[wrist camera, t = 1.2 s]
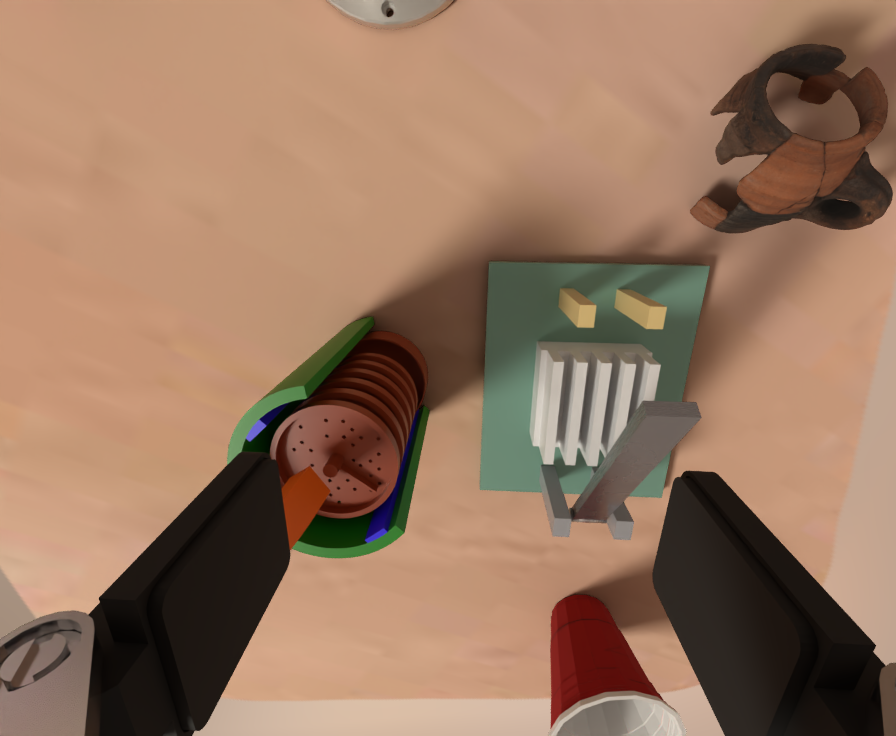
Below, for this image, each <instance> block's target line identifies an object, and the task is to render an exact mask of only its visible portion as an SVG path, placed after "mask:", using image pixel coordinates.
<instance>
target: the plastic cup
mask: <svg viewBox="0 0 896 736" xmlns="http://www.w3.org/2000/svg"><path fill="white" fill-rule="evenodd" d="M550 653H551V729H550V731H549V734H548V736H686V729H685V727H684V725H683V722H682V720H681V718H680V716H679V714H678V713H677V711H676V710H675V709H674V708H672V707H671V706H669V705H668V704H667V703H666V702H665V701H663V699H662V697H661V696H660V694H659V693H657V691H656V690H655V688H654V686H653V685H652V683H651V682H649V680H648V678H647V677H646V675H645V673H644V671H643V669H642V668H641V666H640V664H639V662H638V661H637V659H636V657H635V655H634V654H633V652H632V650H631V648H630V647H629V645H628V643H627V641H626V640H625V638H624V636H623V634H622V633H621V631H620V630H619V629H618V627H617V626H616V624H615V622H614V620H613V618H612V616H611V614H610V612H609V610H608V609H607V608H606V607H605V605H604V604H603V603H602V602H601V601H599V600H598V599H597V598H595V597H591V596H588V595H573V596H569V597H566V598H564V599H563V600H561V601H560V602H558V603H557V604H556V606H555V607H554V609H553V611H552V616H551V649H550Z"/></svg>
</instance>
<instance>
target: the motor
mask: <svg viewBox="0 0 896 736" xmlns="http://www.w3.org/2000/svg"><path fill="white" fill-rule="evenodd" d="M373 325H374V319H373V317H367V318H363V319H360V320H357V321H355V322H353V323H351V324H349V325H348V326H346V327H345V328H343V329H342V330H341V331H340V332H339V333H338V334H336V335H335V336H334V337H333V338H332V339H331V340H329V341H328V342H327V343H326V344H325V345H324V346H322V347H321V348H320V349H319V350H318V351H317V352H316V353H314V354H313V355H312V356H311V357H310V358H309V359H307V360H306V361H305V362H304V363H303V364H302V365H300V366H299V367H298V368H297V369H296V370H295V371H293V372H292V373H291V374H290V375H289V376H288V377H286V378H285V379H284V380H283V381H282V382H281V383H279V384H278V385H277V386H276V387H275V388H274V389H273V390H271V391H270V392H269V393H268V394H267V395H266V396H264V397H263V398H262V399H261V400H260V401H259V402H257V403H256V404H255V405H254V406H253V407H252V408H251V409H249V410H248V412H247V413H246V414H245V415H244V416H243V417H242V419H241V420H240V421H239V423H238V424H237V426H236V428H235V430H234V432H233V434H232V437H231V440H230V444H229V448H228V457H227V465H228V464H229V463H230V462H231V461H232V460H233V459H234V458H235V457H236V456H237V455H238V454H239V453H240V452H263V453H268V454H269V455H270V457H271V459H275V460H276V461H277V463H278V468H279V475H280V482H281V489H282V496H283V504H284V511H285V518H286V525H287V532H288V539H289V546H290V550H291V549H294V550H297V551H299V552H302V553H306V554H309V555H313V556H318V557H325V558H351V557H358V556H362V555H366V554H370V553H372V552H375V551H378V550H380V549H382V548H384V547H386V546H388V545H389V544H391V543H392V542H394V541H395V540H397V539H398V538H399V537H400V536H401V535H402V534H404V533H405V528H406V523H407V518H408V513H409V508H410V503H411V499H412V494H413V489H414V484H415V479H416V474H417V469H418V465H419V460H420V455H421V450H422V445H423V440H424V436H425V431H426V426H427V421H428V416H429V411H430V410H429V409H428V408H427V407H425V406H423V407H422V408H421V409H420V410H419V407H420V406H421V404H422V401H423V399H424V395H425V391H426V387H427V383H428V369H427V365H426V362H425V359H424V357H423V355H422V354H421V352H420V351H419V349H418V348H417V347H416V346H415V345H414V344H413V343H412V342H410V341H409V340H408V339H406V338H405V337H403V336H401V335H398V334H395V333H392V332H387V331H374V332H369V333H367V332H368V331H369V330H370V329H371V328H372V327H373Z"/></svg>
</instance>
